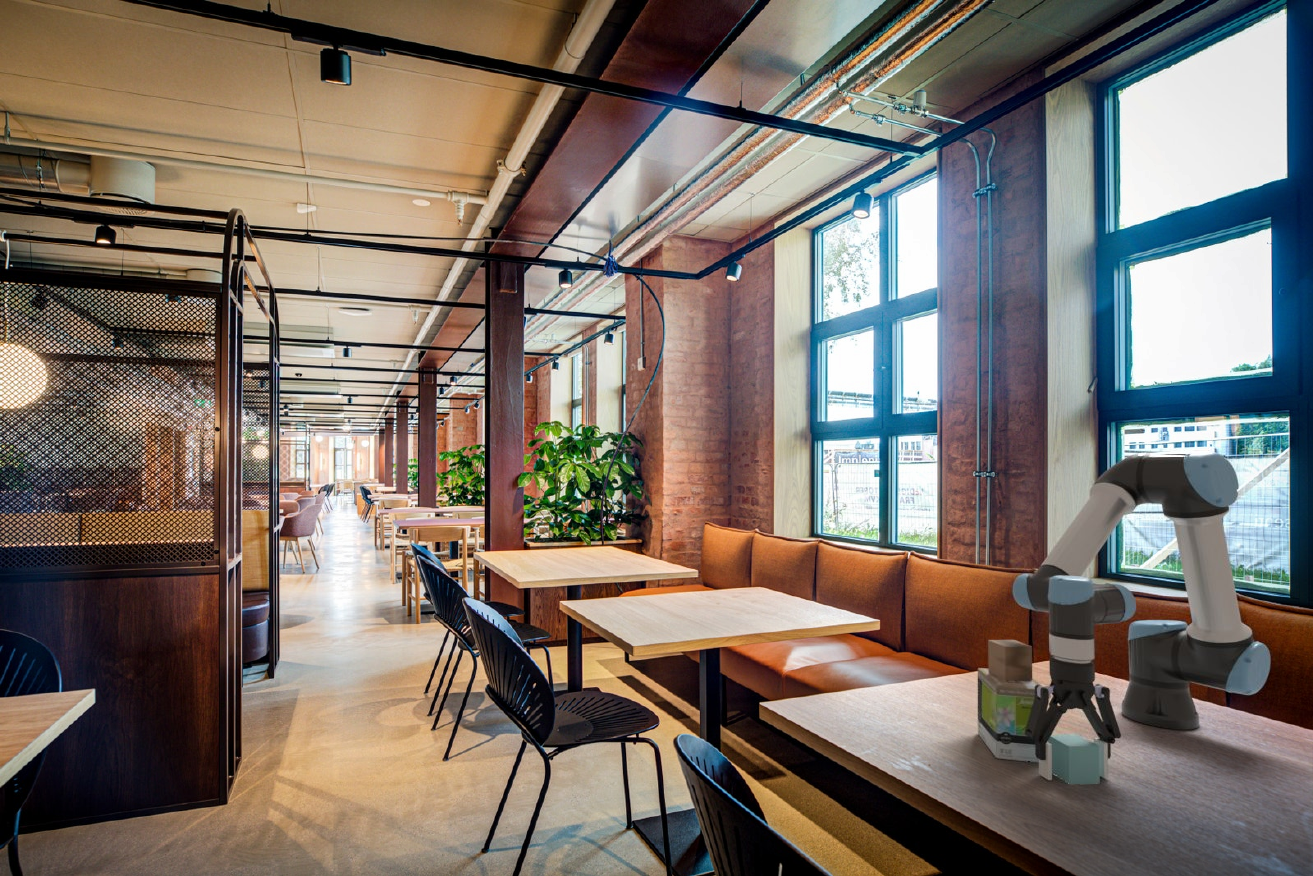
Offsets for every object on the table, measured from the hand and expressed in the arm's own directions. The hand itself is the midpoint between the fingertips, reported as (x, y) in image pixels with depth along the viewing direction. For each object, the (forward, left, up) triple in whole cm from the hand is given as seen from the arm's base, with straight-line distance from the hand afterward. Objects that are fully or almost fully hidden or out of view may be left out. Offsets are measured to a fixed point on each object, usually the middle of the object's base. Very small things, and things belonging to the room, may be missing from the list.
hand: (1073, 776), depth 135 cm
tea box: (+3, -15, 0) cm, 15 cm away
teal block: (0, 0, 0) cm, 0 cm away
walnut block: (+3, -15, +15) cm, 21 cm away
